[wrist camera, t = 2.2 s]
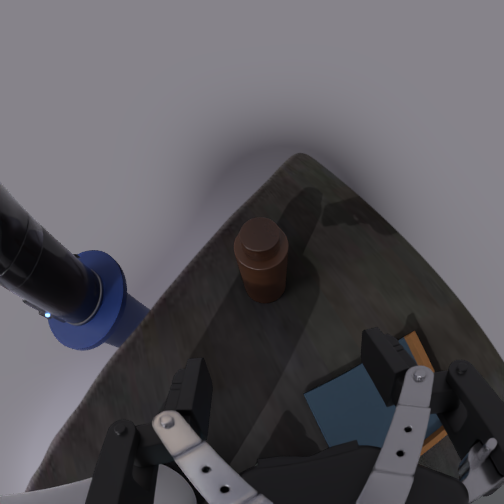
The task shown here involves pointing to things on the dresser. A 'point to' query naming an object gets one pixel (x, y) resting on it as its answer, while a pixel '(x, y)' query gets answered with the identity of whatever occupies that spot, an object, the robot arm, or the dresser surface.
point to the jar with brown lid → (262, 259)
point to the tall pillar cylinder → (74, 494)
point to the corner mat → (364, 405)
